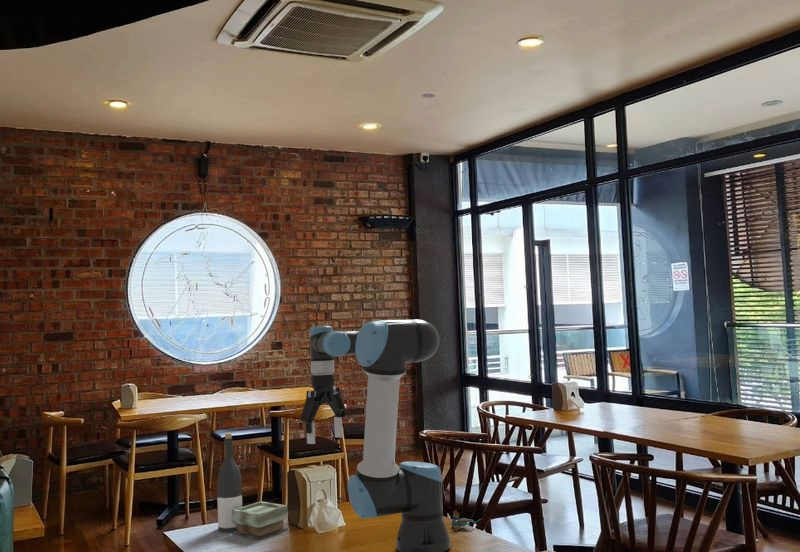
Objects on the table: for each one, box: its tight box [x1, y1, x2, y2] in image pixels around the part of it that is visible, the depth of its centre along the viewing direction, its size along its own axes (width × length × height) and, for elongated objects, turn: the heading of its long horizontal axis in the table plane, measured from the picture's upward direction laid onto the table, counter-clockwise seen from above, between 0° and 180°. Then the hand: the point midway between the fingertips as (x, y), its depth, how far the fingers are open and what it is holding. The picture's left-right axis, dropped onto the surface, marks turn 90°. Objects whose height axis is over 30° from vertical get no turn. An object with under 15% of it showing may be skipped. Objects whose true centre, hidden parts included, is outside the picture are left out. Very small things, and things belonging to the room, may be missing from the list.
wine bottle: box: [216, 432, 243, 533], centre depth 233 cm, size 8×8×30 cm
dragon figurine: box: [450, 509, 483, 532], centre depth 224 cm, size 6×7×8 cm
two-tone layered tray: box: [231, 501, 289, 541], centre depth 228 cm, size 12×12×7 cm
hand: (325, 440), depth 237 cm, fingers open, 13 cm apart
